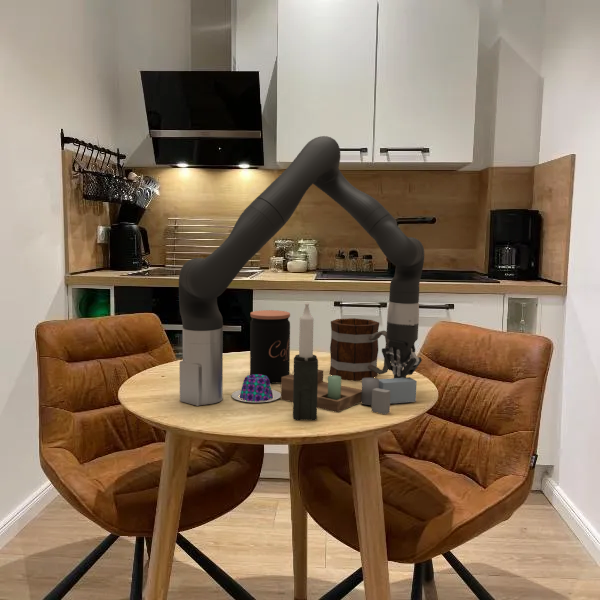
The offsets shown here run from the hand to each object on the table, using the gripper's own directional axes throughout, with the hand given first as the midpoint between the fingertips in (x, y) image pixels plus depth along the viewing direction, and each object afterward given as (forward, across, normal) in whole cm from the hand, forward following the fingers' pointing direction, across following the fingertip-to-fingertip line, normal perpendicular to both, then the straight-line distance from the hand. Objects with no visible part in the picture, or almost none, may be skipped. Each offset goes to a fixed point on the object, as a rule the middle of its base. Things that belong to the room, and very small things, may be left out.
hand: (399, 389), depth 146 cm
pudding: (+2, -15, -32) cm, 35 cm away
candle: (+2, +3, -29) cm, 29 cm away
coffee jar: (+2, -29, -21) cm, 36 cm away
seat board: (+2, -6, -18) cm, 19 cm away
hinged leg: (+1, +3, -6) cm, 7 cm away
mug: (+2, -20, +3) cm, 20 cm away
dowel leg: (+2, 0, -19) cm, 19 cm away
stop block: (+2, +8, -12) cm, 14 cm away
